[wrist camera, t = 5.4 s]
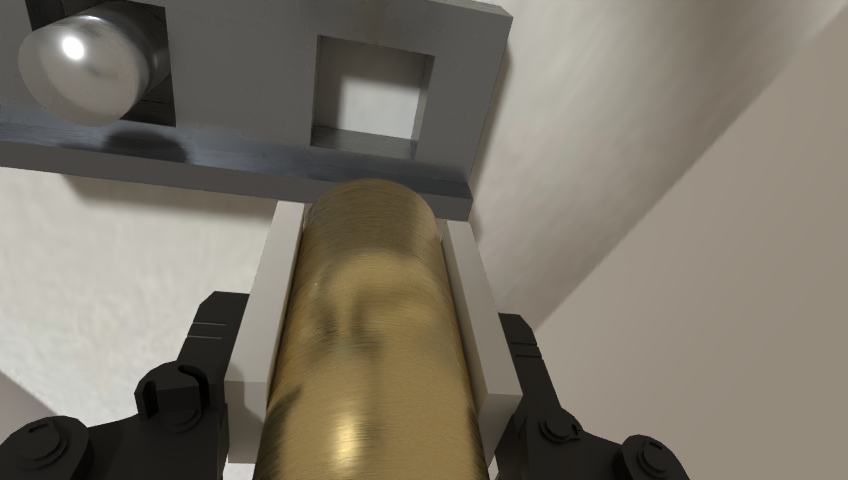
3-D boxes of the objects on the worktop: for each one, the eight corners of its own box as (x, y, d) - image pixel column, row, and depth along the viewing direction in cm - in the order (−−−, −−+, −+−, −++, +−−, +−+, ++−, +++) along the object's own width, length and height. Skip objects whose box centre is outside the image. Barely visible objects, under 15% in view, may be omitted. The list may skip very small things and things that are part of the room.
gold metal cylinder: (306, 169, 14) (224, 524, 6) (450, 187, 15) (545, 522, 7) (300, 283, 17) (233, 646, 9) (424, 293, 18) (471, 634, 9)
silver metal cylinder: (77, -8, 25) (5, 16, 20) (170, 9, 25) (122, 36, 21) (93, 79, 27) (32, 119, 22) (177, 91, 28) (137, 133, 23)
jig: (-44, -106, 22) (-137, -106, 18) (500, 6, 27) (523, 25, 23) (21, 123, 28) (-38, 162, 24) (454, 181, 33) (467, 221, 29)
